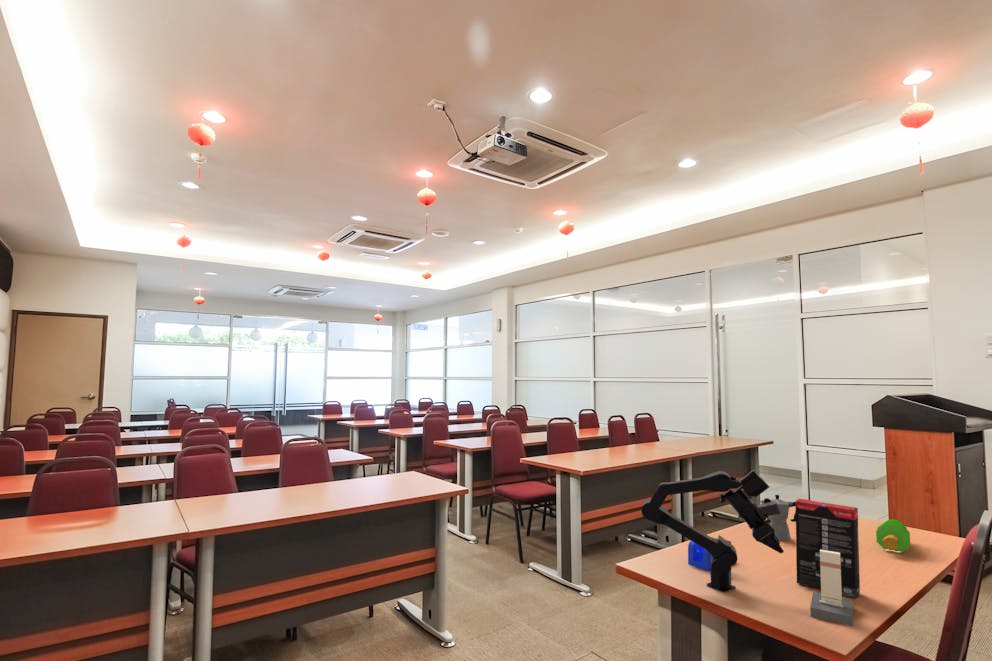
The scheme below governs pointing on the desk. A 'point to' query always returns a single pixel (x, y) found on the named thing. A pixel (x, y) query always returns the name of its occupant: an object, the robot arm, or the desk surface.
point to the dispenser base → (832, 610)
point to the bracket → (699, 556)
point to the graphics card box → (827, 542)
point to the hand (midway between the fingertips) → (780, 548)
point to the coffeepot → (782, 519)
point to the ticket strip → (830, 576)
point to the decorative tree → (893, 536)
